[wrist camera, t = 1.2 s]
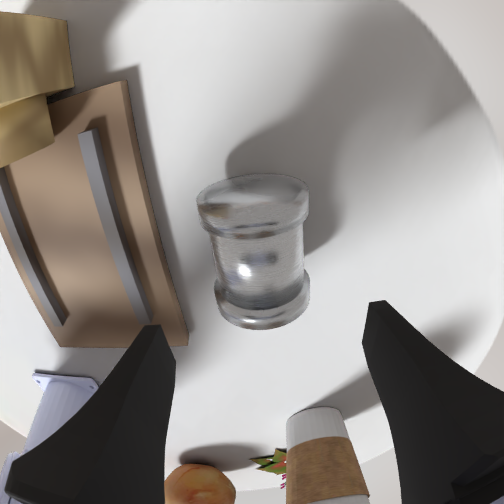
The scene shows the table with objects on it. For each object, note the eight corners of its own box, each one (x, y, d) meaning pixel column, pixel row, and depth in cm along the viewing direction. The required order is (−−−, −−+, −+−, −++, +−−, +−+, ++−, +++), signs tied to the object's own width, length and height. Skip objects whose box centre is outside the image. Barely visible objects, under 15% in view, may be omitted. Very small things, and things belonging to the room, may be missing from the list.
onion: (150, 454, 34) (142, 519, 26) (220, 450, 33) (219, 523, 25) (182, 476, 39) (179, 532, 31) (244, 472, 38) (246, 532, 30)
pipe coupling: (301, 265, 19) (318, 323, 15) (219, 274, 19) (215, 334, 15) (297, 170, 16) (320, 208, 12) (202, 180, 16) (189, 222, 12)
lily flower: (345, 456, 38) (351, 482, 34) (271, 475, 41) (273, 500, 37) (322, 431, 32) (328, 464, 29) (232, 453, 35) (232, 484, 31)
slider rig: (189, 335, 22) (175, 445, 15) (64, 338, 22) (27, 425, 15) (116, -8, 11) (16, -55, 3) (-31, 65, 11) (-133, 94, 3)
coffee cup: (356, 424, 31) (382, 539, 19) (285, 442, 33) (298, 557, 20) (348, 390, 27) (383, 537, 14) (262, 413, 28) (273, 557, 16)
